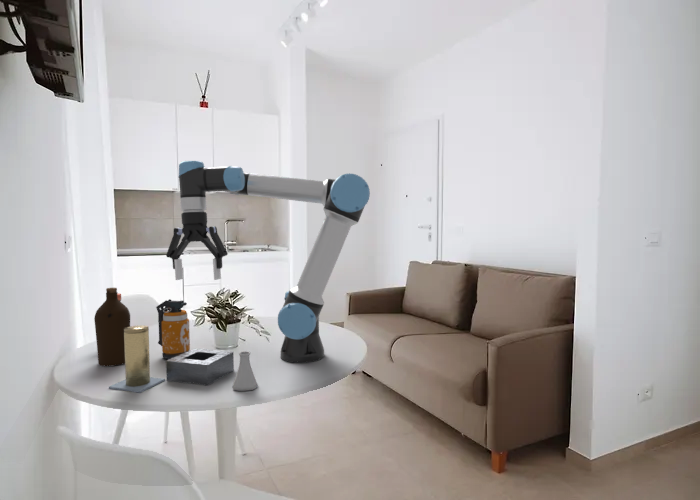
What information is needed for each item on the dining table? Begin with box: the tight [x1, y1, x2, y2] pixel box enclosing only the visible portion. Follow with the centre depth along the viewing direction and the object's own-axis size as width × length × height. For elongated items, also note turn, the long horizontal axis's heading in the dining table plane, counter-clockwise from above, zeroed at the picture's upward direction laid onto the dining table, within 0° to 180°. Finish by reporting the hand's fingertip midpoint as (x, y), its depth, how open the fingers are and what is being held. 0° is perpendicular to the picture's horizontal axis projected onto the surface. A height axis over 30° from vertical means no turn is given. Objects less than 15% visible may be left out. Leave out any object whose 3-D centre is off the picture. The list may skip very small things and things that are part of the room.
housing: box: [165, 347, 235, 386], centre depth 140 cm, size 14×14×6 cm
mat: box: [108, 376, 166, 393], centre depth 133 cm, size 11×10×1 cm
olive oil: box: [93, 287, 131, 367], centre depth 153 cm, size 11×11×25 cm
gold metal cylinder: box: [124, 325, 151, 387], centre depth 132 cm, size 6×6×16 cm
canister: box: [155, 298, 191, 360], centre depth 159 cm, size 9×11×20 cm
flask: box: [232, 350, 259, 392], centre depth 130 cm, size 7×7×10 cm
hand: (198, 279), depth 144 cm, fingers open, 13 cm apart
